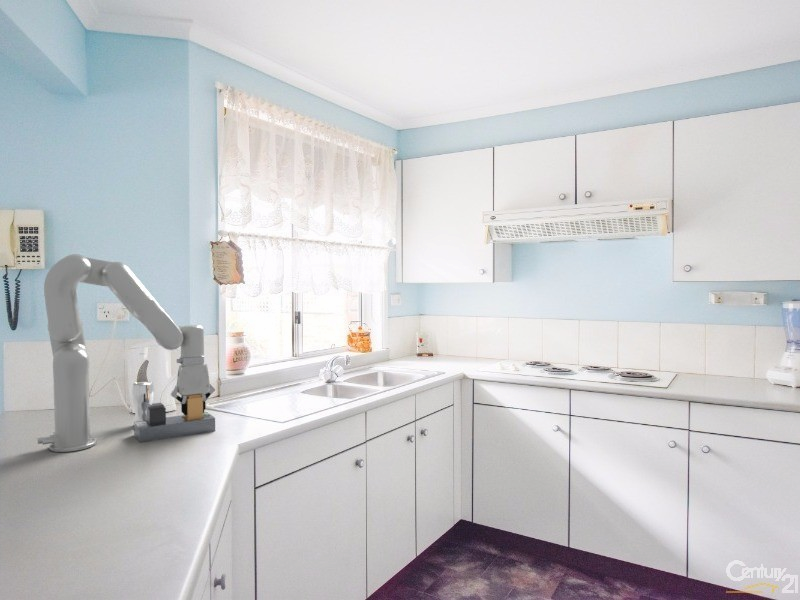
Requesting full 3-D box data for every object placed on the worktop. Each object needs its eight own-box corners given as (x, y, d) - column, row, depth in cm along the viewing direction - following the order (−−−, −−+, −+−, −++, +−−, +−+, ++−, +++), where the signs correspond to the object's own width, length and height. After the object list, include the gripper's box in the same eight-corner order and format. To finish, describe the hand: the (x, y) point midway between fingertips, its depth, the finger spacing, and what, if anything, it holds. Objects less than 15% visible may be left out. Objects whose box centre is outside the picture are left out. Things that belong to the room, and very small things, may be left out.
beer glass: (158, 422, 203) (157, 381, 203) (147, 427, 196) (146, 385, 196) (139, 422, 204) (139, 381, 203) (128, 427, 197) (128, 385, 196)
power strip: (139, 442, 179) (138, 409, 179) (133, 435, 187) (133, 404, 187) (215, 430, 193) (214, 400, 192) (207, 424, 201) (206, 395, 201)
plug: (188, 425, 190) (187, 396, 189) (184, 422, 194) (184, 393, 194) (203, 423, 193) (202, 394, 192) (199, 420, 197) (198, 391, 196)
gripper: (169, 364, 185) (170, 419, 185) (220, 360, 194) (221, 412, 195) (164, 362, 191) (165, 414, 192) (214, 357, 200) (215, 407, 201)
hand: (193, 412), depth 193 cm, fingers closed on plug, 5 cm apart
